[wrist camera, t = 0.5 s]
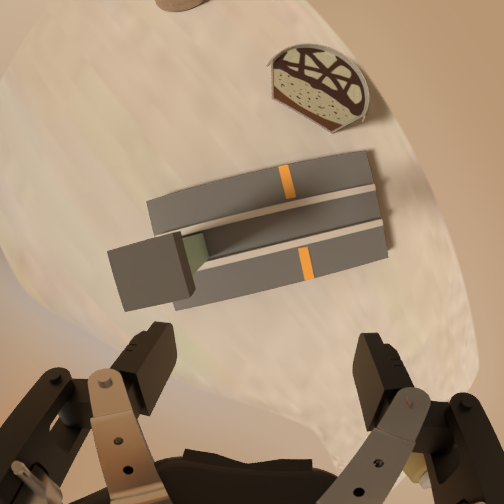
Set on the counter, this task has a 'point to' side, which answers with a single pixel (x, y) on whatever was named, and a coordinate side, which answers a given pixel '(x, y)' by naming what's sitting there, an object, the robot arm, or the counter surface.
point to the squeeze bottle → (417, 470)
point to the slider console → (277, 225)
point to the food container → (320, 85)
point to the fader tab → (157, 269)
